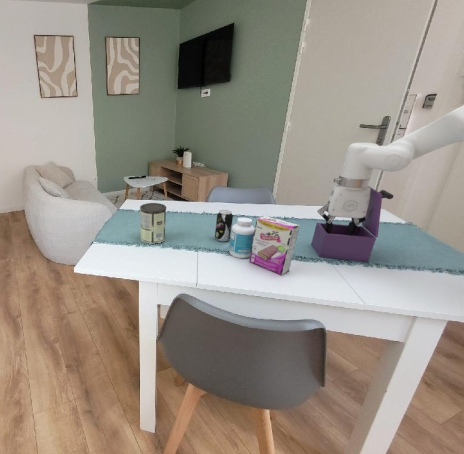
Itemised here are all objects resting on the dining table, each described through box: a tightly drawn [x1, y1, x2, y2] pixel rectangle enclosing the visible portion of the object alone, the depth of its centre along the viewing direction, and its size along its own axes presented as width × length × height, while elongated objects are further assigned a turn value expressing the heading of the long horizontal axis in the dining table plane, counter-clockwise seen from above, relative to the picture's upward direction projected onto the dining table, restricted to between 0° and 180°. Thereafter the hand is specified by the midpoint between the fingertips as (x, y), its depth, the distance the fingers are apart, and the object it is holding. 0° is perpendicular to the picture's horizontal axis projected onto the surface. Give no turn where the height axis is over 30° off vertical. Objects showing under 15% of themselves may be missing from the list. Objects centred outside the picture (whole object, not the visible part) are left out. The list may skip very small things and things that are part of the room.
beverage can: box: [214, 209, 234, 243], centre depth 115 cm, size 6×6×12 cm
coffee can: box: [139, 202, 167, 245], centre depth 118 cm, size 10×10×14 cm
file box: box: [311, 222, 377, 263], centre depth 101 cm, size 14×11×9 cm
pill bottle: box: [228, 216, 255, 259], centre depth 103 cm, size 8×7×14 cm
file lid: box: [361, 185, 394, 238], centre depth 94 cm, size 14×11×4 cm
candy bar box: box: [248, 214, 301, 276], centre depth 94 cm, size 11×5×16 cm, turn 34°
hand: (338, 233), depth 101 cm, fingers open, 5 cm apart
